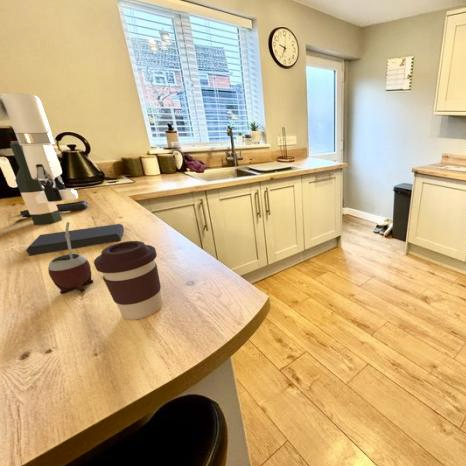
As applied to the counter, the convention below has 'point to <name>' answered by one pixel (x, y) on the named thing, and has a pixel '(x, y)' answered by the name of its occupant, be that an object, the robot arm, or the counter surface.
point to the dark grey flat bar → (76, 239)
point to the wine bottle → (33, 191)
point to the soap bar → (65, 194)
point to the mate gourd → (70, 270)
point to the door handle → (63, 208)
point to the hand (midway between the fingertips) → (58, 198)
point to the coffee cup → (131, 278)
